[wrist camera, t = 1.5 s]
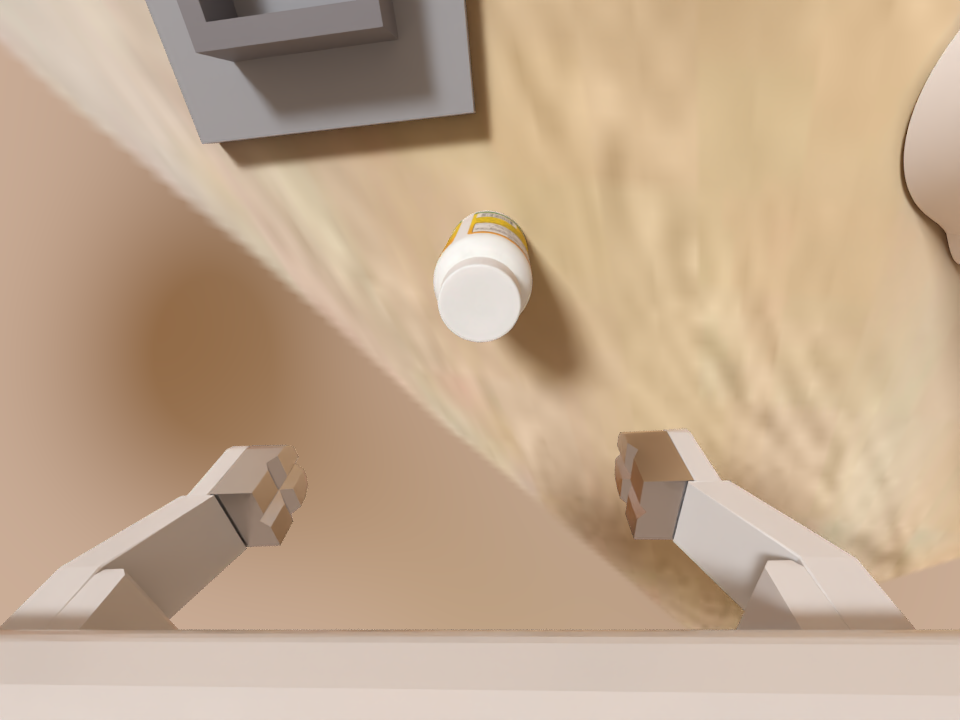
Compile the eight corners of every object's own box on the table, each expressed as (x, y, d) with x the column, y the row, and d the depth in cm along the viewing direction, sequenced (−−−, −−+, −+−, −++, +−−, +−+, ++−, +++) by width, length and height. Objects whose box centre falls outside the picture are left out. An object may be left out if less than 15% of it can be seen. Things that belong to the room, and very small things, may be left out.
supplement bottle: (507, 194, 25) (509, 227, 17) (539, 269, 27) (554, 330, 19) (433, 232, 26) (402, 279, 18) (470, 300, 29) (456, 369, 20)
